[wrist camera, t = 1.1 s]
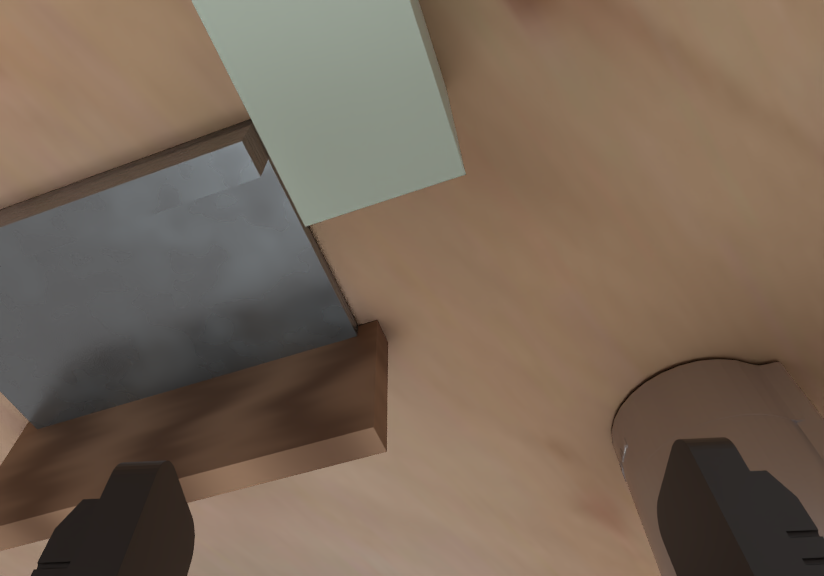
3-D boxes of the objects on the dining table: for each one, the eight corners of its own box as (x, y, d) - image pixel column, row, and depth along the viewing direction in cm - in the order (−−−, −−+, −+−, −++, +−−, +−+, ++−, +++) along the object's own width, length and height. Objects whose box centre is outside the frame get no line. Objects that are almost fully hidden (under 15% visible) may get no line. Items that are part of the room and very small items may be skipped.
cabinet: (363, -175, 20) (348, -189, 14) (446, 89, 25) (465, 174, 18) (221, -113, 21) (142, -99, 14) (328, 131, 26) (305, 226, 19)
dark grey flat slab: (254, 117, 25) (242, 141, 23) (358, 325, 31) (355, 359, 29) (-115, 251, 28) (-155, 282, 26) (44, 418, 34) (21, 454, 32)
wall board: (377, 320, 31) (373, 427, 25) (388, 342, 32) (386, 451, 26) (28, 422, 34) (-47, 538, 28) (45, 441, 35) (-23, 556, 29)
